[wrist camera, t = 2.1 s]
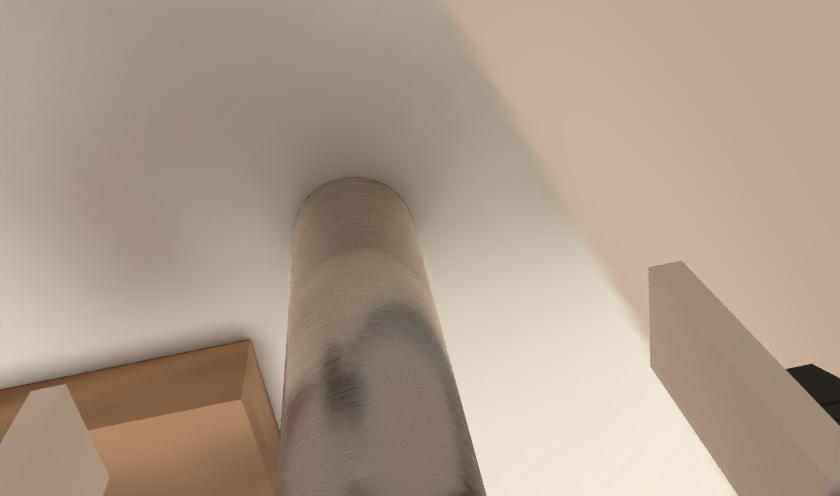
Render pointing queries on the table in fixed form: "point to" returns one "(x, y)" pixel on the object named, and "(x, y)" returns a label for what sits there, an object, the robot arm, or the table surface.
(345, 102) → the table surface
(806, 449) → the robot arm
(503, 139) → the table surface
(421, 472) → the peg
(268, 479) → the socket board
